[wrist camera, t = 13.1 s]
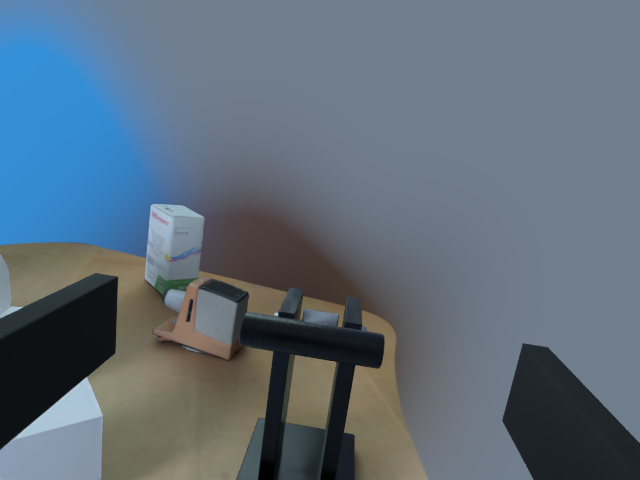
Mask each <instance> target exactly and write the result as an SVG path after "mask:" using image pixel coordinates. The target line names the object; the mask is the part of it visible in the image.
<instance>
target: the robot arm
mask: <svg viewBox="0 0 640 480" xmlns="http://www.w3.org/2000/svg"><path fill="white" fill-rule="evenodd" d="M117 290H118V277H116V276H110V275H104V274H98V273H95V274H93V275H91V276H89V277H86V278H84V279H82V280H80V281H78V282H76V283H74V284H72V285H70V286H67V287H65V288H63V289H61V290H59V291H57V292H55V293H53V294H51V295H48V296H46V297H44V298H42V299H40V300H38V301H36V302H34V303H31V304H29V305H27V306H25V307H23V308H21V309H19V310H17V311H15V312H12V313H10V314H8V315H6V316H4V317H2V318H0V450H1V449H2V448H3V447H4V446H5V445H6V444H8V443H9V442H10V441H11V440H12V439H14V438H15V437H16V436H17V435H18V434H20V433H21V432H22V431H23V430H24V429H26V428H27V427H28V426H29V425H30V424H31V423H33V422H34V421H35V420H36V419H37V418H39V417H40V416H41V415H42V414H43V413H45V412H46V411H47V410H48V409H49V408H50V407H52V406H53V405H54V404H55V403H56V402H58V401H59V400H60V399H61V398H62V397H64V396H65V395H66V394H67V393H68V392H70V391H71V390H72V389H73V388H74V387H75V386H77V385H78V384H79V383H80V382H81V381H83V380H84V379H85V378H86V377H87V376H89V375H90V374H91V373H92V372H93V371H94V370H96V369H97V368H98V367H99V366H100V365H102V364H103V363H104V362H105V361H106V360H108V359H109V358H110V357H111V356H112V355H114V354H115V350H116V320H117ZM503 423H504V425H505V427H506V428H507V430H508V432H509V434H510V436H511V438H512V440H513V442H514V443H515V445H516V447H517V449H518V451H519V453H520V455H521V457H522V459H523V460H524V462H525V464H526V466H527V468H528V470H529V472H530V474H531V475H532V477H533V479H534V480H640V443H639V442H638V441H637V440H636V439H635V438H634V437H633V436H632V435H631V434H630V433H629V432H628V431H627V430H626V429H625V427H623V425H622V424H621V423H620V422H619V421H618V420H617V419H616V418H615V417H614V416H613V415H612V414H611V413H610V412H609V411H608V410H607V409H606V408H605V407H604V406H603V405H602V403H601V402H599V400H598V399H597V398H596V397H595V396H594V395H593V394H592V393H591V392H590V391H589V390H588V389H587V388H586V387H585V386H584V385H583V384H582V383H581V382H580V381H579V379H577V377H576V376H575V375H574V374H573V373H572V372H571V371H570V370H569V369H568V368H567V367H566V366H565V365H564V364H563V363H562V362H561V361H560V360H559V359H558V357H557V356H556V355H555V354H554V353H553V352H552V351H551V350H550V349H549V348H548V347H542V346H536V345H530V344H524V343H523V345H522V349H521V353H520V356H519V360H518V364H517V368H516V371H515V375H514V379H513V383H512V386H511V390H510V394H509V398H508V401H507V405H506V409H505V412H504V416H503Z"/></svg>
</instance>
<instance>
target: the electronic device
mask: <svg viewBox="0 0 640 480" xmlns="http://www.w3.org/2000/svg"><path fill="white" fill-rule="evenodd" d="M248 299H249V294H248V292H246V291H243V290H241V289H240V288H237V287H234V286H232V285H229V284H227V283H224V282H222V281H218V280H215V279H211V278H208V277H206V276H202V277H200V278H198V279H196V280H195V281H193V282H192V283H190V284H189V285H188V288H187V290H186V291H181V290H175V289H172V288H169V289H167V290H166V291H165V293H164V294H163V296H162V301H163V304H164V305H166V306H167V307H169V308H171V309H173V310H174V311H176V312H178V313H179V315H178V316H174V317H173V318H171V319H170V320H168V321H167V322H165V323H163V324H162V325H160V326H159V327H157V328H156V329H154V330H153V331H152V333H153V334H155V335H158V338H157V339H158V340H159V342H165V341H168V342H177V343H180V344H183V345H180V346H182V347H184V348H186V349H187V350H190V351H194V352H198V353H207V354H211V355H212V354H213V355H215V356H217V357H220V358H223V359H226V360H229V359H231V358H232V357H233V356H234V354H235V353H236V352H237V351H238V350H239V349H240V348H241V347H242V346H241V345H240V343H239V334H240V328H241V323H242V320H243V317H244V316H245V314H246V313H247V305H248Z"/></svg>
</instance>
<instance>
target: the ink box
mask: <svg viewBox="0 0 640 480" xmlns="http://www.w3.org/2000/svg"><path fill="white" fill-rule="evenodd" d="M204 220H205V219H204V217H203V216H201V215H199V214H197V213H195V212H193V211H192V210H190V209H188V208H186V207H184V206H183V205H163V204H153V205H151V214H150V224H149V234H148V247H147V257H146V269H145V279H146V280H147V281H148V282H149V283H150V284H151V285H152V286H153V287H154V288H155V289H156V290H157V291H158V292H159V293H160V294H161V295H162V296H163V294H164V293H165V291H166V290H167V289H169V288H172V289H175V290H181V291H186V290H187V288H188V285H189V284H190V283H192V282H193V281H195V280H196V279H198V275H199V264H200V257H201V247H202V238H203V229H204Z"/></svg>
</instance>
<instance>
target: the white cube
mask: <svg viewBox="0 0 640 480" xmlns="http://www.w3.org/2000/svg"><path fill="white" fill-rule="evenodd" d="M102 425H103V415H102V413H101V410H100V408H99V405H98V403H97V401H96V398H95V396H94V393H93V391H92V388H91V386H90V383H89V381H88V379H87V377H86V378H85V379H84V380H83V381H81V382H80V383H79V384H78V385H77V386H75V387H74V388H73V389H72V390H71V391H70V392H68V393H67V394H66V395H65V396H64V397H62V398H61V399H60V400H59V401H58V402H56V403H55V404H54V405H53V406H52V407H50V408H49V409H48V410H47V411H46V412H45V413H43V414H42V415H41V416H40V417H39V418H37V419H36V420H35V421H34V422H33V423H31V424H30V425H29V426H28V427H27V428H26V429H24V430H23V431H22V432H21V433H20V434H18V435H17V436H16V437H15V438H14V439H12V440H11V441H10V442H9V443H8V444H6V445H5V446H4V447H3V448H2V449H1V450H0V480H101V463H102Z"/></svg>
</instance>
